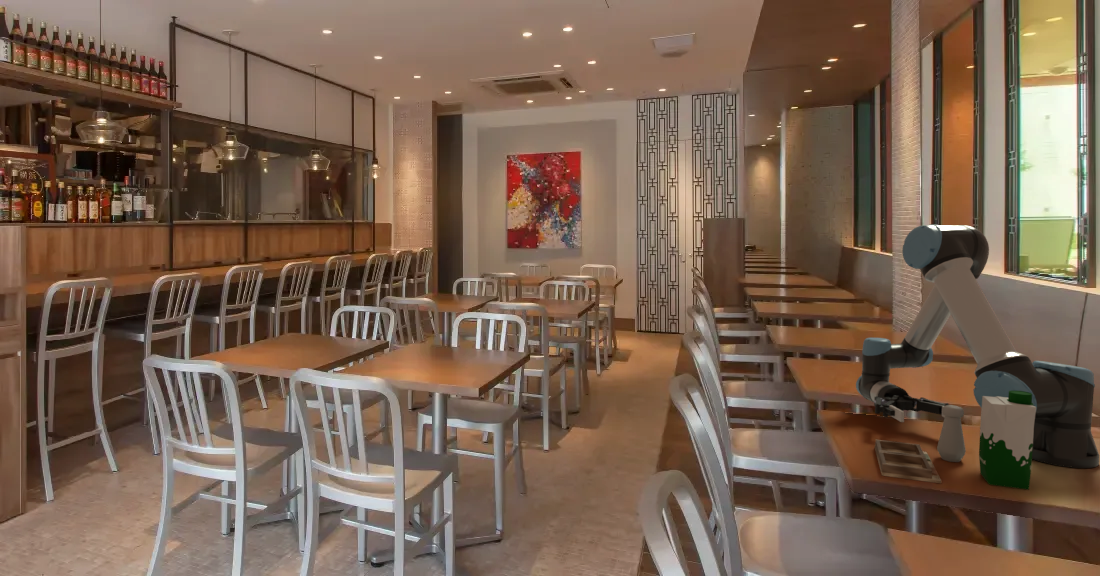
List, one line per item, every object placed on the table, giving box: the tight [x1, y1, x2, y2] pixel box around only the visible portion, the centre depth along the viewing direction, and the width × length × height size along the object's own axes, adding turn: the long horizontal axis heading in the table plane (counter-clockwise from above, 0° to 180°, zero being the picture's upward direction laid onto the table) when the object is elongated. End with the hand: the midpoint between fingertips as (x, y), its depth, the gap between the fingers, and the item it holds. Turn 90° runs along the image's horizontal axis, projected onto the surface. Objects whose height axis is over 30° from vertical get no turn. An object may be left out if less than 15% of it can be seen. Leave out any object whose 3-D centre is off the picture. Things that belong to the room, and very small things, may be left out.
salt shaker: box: [936, 404, 966, 463], centre depth 147 cm, size 6×6×13 cm
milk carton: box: [978, 390, 1036, 490], centre depth 133 cm, size 9×9×20 cm
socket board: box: [874, 439, 942, 484], centre depth 144 cm, size 11×20×2 cm, turn 156°
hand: (930, 417), depth 157 cm, fingers open, 13 cm apart
